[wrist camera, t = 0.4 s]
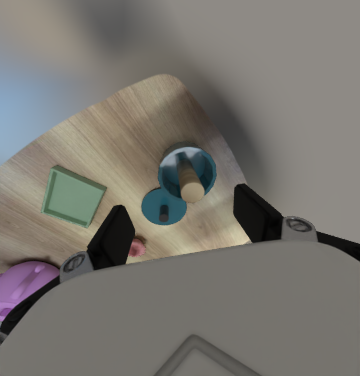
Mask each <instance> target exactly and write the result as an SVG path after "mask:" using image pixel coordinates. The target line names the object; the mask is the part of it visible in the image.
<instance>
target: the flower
mask: <svg viewBox="0 0 360 376" xmlns="http://www.w3.org/2000/svg"><path fill="white" fill-rule="evenodd" d="M145 248H146V247H144V245H143V243H142V242H141V240H139V239H133V241H132V244H131V248H130V251H129V254H128V255H129V256H132V257H133V256H134V257H135V256H136V257H137V256H140V255H144V254H142V253H146V252H144V251H145ZM140 257H141V256H140Z"/></svg>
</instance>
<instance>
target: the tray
mask: <svg viewBox="0 0 360 376" xmlns="http://www.w3.org/2000/svg"><path fill="white" fill-rule="evenodd" d="M106 189H107V187H104V186H102V185H100V184H98V183H95V182H93V181H91V180H89V179H87V178H84V177H82V176H80V175H78V174H75V173H73V172H71V171H69V170H67V169H64V168H62V167H60V166H58V165H57V166H54V167H52V168H51V170H50V174H49V179H48V183H47V187H46V192H45V196H44V201H43V205H42V209H41V213H43V214H46V215H49V216H52V217H55V218H58V219H61V220H64V221H67V222H70V223H73V224H76V225H79V226H82V227H85V228H88V227H89V225H90V224H91V222H92V220H93V218H94V215H95V213H96V211H97V209H98V206H99V204H100V202H101V200H102V197H103V195H104V193H105V191H106Z"/></svg>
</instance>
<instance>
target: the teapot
mask: <svg viewBox="0 0 360 376" xmlns="http://www.w3.org/2000/svg"><path fill="white" fill-rule="evenodd" d="M58 275H60V274H59V270H58V269H57V268H56V267H54V266H52V265H50V264H47V263H44V262H38V261H29V262H24V263H21V264H18V265H15V266H13V267H11V268H9V269H8V270H7V271H6V272H5V273H3V274H0V321H3V320H4V319H5V317H6V316H7V315H8V313H9V312H10V311H11V310H12V309H13V308H14V307H15V306H16V305H18V304H19V303H20V302H21V301H23V300H24V299H26V298H27V297H28V296H30V295H31V294H33V293H34V292H35V291H37V290H38V289H40V288H41V287H43V286H44V285H45V284H47V283H48V282H50V281H51V280H53V279H54V278H55V277H57V276H58Z"/></svg>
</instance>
